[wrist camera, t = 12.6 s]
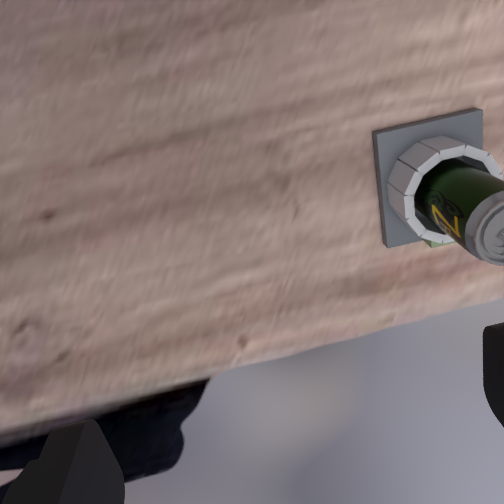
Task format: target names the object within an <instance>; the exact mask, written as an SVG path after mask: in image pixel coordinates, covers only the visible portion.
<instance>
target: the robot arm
mask: <svg viewBox="0 0 504 504" xmlns="http://www.w3.org/2000/svg"><path fill="white" fill-rule="evenodd" d="M483 385H484V391H485V395H486V398H487V401H488V403H489V405H490V408H491V409H492V411H493V413H494V415H495V416H496V417H497V419H498V420H499V422H500V423H501V424H502V426H503V427H504V322H503V323H499V324H495V325H491V326H487V327H485V329H484V331H483ZM124 499H125V486H124V478H123V474H122V471H121V468H120V466H119V464H118V462H117V460H116V458H115V456H114V454H113V452H112V451H111V449H110V447H109V445H108V443H107V441H106V439H105V437H104V435H103V433H102V431H101V429H100V427H99V425H98V424H97V423H96V421H94V420H92V419H90V420H86V421H81V422H77V423H73V424H69V425H64V426H60V427H56V428H54V429H53V430H52V431H51V432H50V434H49V436H48V438H47V441H46V443H45V446H44V448H43V450H42V453H41V455H40V458H39V459H37V460H33V461H30V462H29V463H28V464H27V466H26V467H25V468H24V469H23V471H22V472H21V473H20V474H19V476H18V477H17V478H16V479H15V481H14V482H13V483H12V484H11V486H10V487H9V489H8V491H7V493H6V495H5V498H4V500H3V502H2V504H124Z"/></svg>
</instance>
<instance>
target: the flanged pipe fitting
mask: <svg viewBox="0 0 504 504" xmlns="http://www.w3.org/2000/svg"><path fill="white" fill-rule="evenodd" d="M372 134H373V144H374V154H375V164H376V174H377V185H378V195H379V205H380V215H381V225H382V235H383V244H384V245H385V246H386V247H387V248H391V247H396V246H400V245H405V244H409V243H413V242H418V241H422V240H424V241H425V242H426V243H427V244H428V245H429V246H430V247H431V248H434V247H438V246H443V245H447V244H451V243H456V241H455V240H453V239H452V238H451V237H450V236H449V235H447V234H446V233H445V232H444V231H442V230H441V229H440V228H439V227H438V226H436V225H435V224H434V223H433V222H431V221H430V220H429V219H428V218H426V217H425V216H424V215H423V214H422V213H420V212H419V211H418V210H417V209H415V208H414V194H415V192H416V190H417V188H418V186H419V183H420V181H421V179H422V177H423V175H424V174H426V173H427V172H428V171H429V170H430V169H432V168H433V167H434V166H435V165H437V164H438V163H439V162H440V161H442V160H445V159H450V158H454V157H455V158H457V159H459V160H461V161H463V162H465V163H467V164H469V165H471V166H474V167H476V168H478V169H480V170H482V171H484V172H486V173H488V174H490V175H492V176H495V177H497V178H499V179H501V180H503V174H502V173H501V172H502V170H501V169H500V167H499V166H498V164H497V163H496V161H495V160H494V158H493V157H492V155H491V154H490V153H489V152H486V151H484V150H483V110H482V109H478V108H473V109H468V110H464V111H460V112H456V113H451V114H447V115H443V116H438V117H434V118H430V119H425V120H421V121H417V122H413V123H408V124H404V125H400V126H395V127H391V128H387V129H383V130H378V131H374V132H372Z"/></svg>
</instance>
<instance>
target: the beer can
mask: <svg viewBox="0 0 504 504" xmlns="http://www.w3.org/2000/svg"><path fill="white" fill-rule="evenodd" d="M414 208H415V209H417V210H418V211H419V212H420V213H422V214H423V215H424V216H425V217H426V218H428V219H429V220H430V221H431V222H433V223H434V224H435V225H436V226H438V227H439V228H440V229H441V230H442V231H444V232H445V233H446V234H447V235H449V236H450V237H451V238H452V239H453V240H455V241H456V242H457V243H458V244H460V245H461V246H462V247H463V248H465V249H466V250H467V251H468V252H469V253H471V254H472V255H473V256H475V257H476V258H478V259H479V260H482V261H487V262H488V263H490V264H494V265H499V266H503V265H504V181H503V180H501V179H499V178H497V177H495V176H492V175H490V174H488V173H486V172H484V171H482V170H480V169H478V168H476V167H474V166H471V165H469V164H467V163H465V162H463V161H461V160H459V159H457V158H455V157H454V158H450V159H445V160H442V161H440V162H439V163H438V164H437V165H435V166H434V167H433V168H432V169H430V170H429V171H428V172H427V173H426V174H424V175H423V177H422V179H421V181H420V183H419V186H418V188H417V190H416V192H415V194H414Z"/></svg>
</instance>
